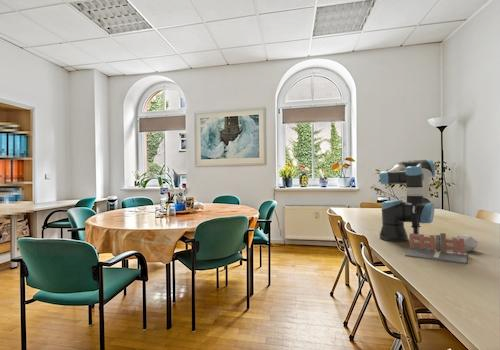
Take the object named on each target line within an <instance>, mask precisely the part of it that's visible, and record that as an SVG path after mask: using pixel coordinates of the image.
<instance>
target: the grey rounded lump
mask: <svg viewBox="0 0 500 350" xmlns="http://www.w3.org/2000/svg"><path fill="white" fill-rule="evenodd" d="M456 238H457V240H459V238H464V248H465V252H467V253H468V252H471V251H473V252H475V251H476V248H477V246H478V245H479V241H477V240H476V239H475V238H474V237H473V236H472V235H469V234H458V236H457V237H456ZM457 246H458V247H460V246H459V244H457ZM471 253H472V252H471Z"/></svg>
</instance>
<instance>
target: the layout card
mask: <svg viewBox="0 0 500 350" xmlns="http://www.w3.org/2000/svg"><path fill="white" fill-rule="evenodd" d="M424 248H425V249H420V246H414V248H410V247H409V249H408V250H407V252H406V253H405V254H404V256H405V257H412V258H419V259H426V260H434V261H439V260H440V261H442V262H447V261H448V262H447V263H454V262H455V263H456V264H460V265H461V264H464V265H467V264H468V263H467V262H468V261H467V260H468V252H465V254H461V253H460V251H458V253H453V250H449V249H446V253H444V252H441V248H440V251H436V247H435V250H430V247H424Z"/></svg>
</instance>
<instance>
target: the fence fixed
mask: <svg viewBox="0 0 500 350" xmlns="http://www.w3.org/2000/svg"><path fill="white" fill-rule="evenodd" d="M439 235H440V249H441V252H444V253H446V250H453V253H458V251H460V253H461V254H465V248H464V238H459V240H457V237H454V236H453V237H451V239H448V238H447V234H446V232H440V234H439ZM448 244H452V245H448ZM457 244H459V246H460V247H458V246H457Z"/></svg>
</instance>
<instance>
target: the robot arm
mask: <svg viewBox="0 0 500 350" xmlns="http://www.w3.org/2000/svg"><path fill="white" fill-rule="evenodd" d="M435 176H436V170H435V163H434V160H432V159H419V160H417V159H416V160H404V161H400V162H397V163H396V164H393V166H392V167H391V169H389V170H388V171H387V170H385V171H381V172H380V173H379V181H380V184H382V185H389V184H390V185H393V184H394V185H395V184H396V185H397V184H399V185H400V184H403V185H406V186H405V187H406V188H405V189H404V190H405V191H406V202H405V201H404V200H403V199H393V200H386V201H383V202H382V203H381V221H382V223H381V224H382V226H381V229H380V232H379V239H381V240H384V241H390V242H407V241H408V240H409V236H408V234H407V231H406V228H405V223H411V226H410V227H411V228H412V234H414V236H418V237H420V236H419V235H420V228H421V224H431V223H433V221H434V217H435V204H434V202H433V203H432V202H431V199H429V198H430V195H429V193H430V181H431V180H432V179H433V178H434V177H435Z"/></svg>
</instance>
